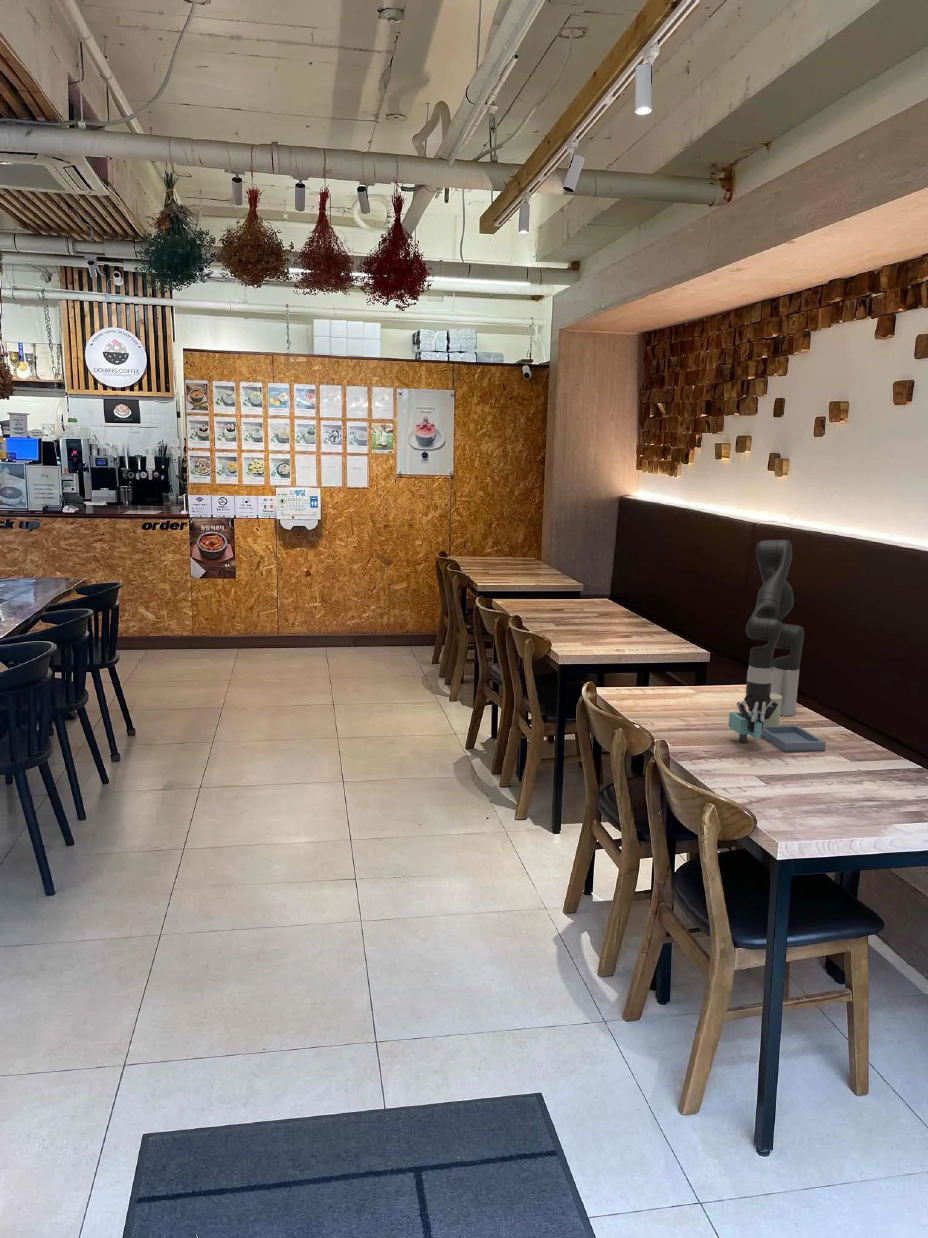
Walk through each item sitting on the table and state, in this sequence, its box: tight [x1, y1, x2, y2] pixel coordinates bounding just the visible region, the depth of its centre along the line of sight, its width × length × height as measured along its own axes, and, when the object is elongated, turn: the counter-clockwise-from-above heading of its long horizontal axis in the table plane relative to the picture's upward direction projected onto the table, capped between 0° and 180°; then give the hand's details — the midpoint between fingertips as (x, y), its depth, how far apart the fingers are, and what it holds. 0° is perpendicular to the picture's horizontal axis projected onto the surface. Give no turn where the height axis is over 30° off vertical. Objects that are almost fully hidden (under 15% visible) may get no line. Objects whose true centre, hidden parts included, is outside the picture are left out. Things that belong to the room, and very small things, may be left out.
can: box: [763, 693, 782, 726], centre depth 304 cm, size 9×9×12 cm
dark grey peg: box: [738, 711, 749, 744], centre depth 287 cm, size 3×3×11 cm
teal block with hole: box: [727, 711, 764, 740], centre depth 284 cm, size 12×8×5 cm, turn 9°
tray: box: [761, 725, 827, 753], centre depth 289 cm, size 18×14×3 cm
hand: (754, 731), depth 281 cm, fingers closed on teal block with hole
